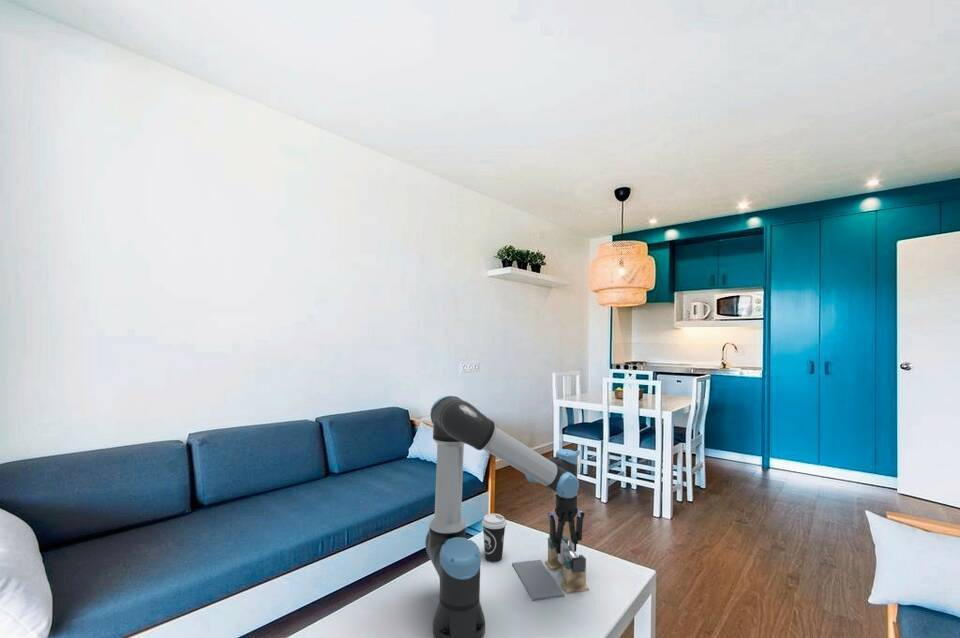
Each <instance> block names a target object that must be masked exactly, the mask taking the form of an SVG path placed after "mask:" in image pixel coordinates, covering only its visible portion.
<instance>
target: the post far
mask: <svg viewBox="0 0 960 638" xmlns="http://www.w3.org/2000/svg"><path fill="white" fill-rule="evenodd" d="M562 539H563V540H564V541H565V542H566V543H567V545H568V546H569V539H568V538H567V537H566V536H565V535H562ZM544 564H545V565H546V566H547V568H548V569H549V570H550V571H556V570H564V556H563V564H560V562H559V561H558V553H557V552H556V546H555V545H554V543H553V542H552V541H551V539H550V537H547V560H544Z"/></svg>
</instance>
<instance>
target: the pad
mask: <svg viewBox="0 0 960 638" xmlns="http://www.w3.org/2000/svg"><path fill="white" fill-rule="evenodd" d="M511 565H512V567H513V568H514V571H515V572H516V574H517V575H518V578H519V579H520V581H521V583H522V584H523V586H524V588H525V590H526V592H527V594H529V597H530V598H531V600H532V601H533V602H534V601H542V600H550V599H555V598H563V597H566V596H565V593H564V592H563V590H562V588H561V586H560V585H558V583H557V582H556V580H555V579H554V578H553V576H552V574H551V573H550V571H548V569H547V567H546V566H545V565H544V564H543V562H542V561H541V559H535V560H526V561H517V562H516V561H515V562H512V563H511Z"/></svg>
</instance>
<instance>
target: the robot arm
mask: <svg viewBox="0 0 960 638" xmlns="http://www.w3.org/2000/svg"><path fill="white" fill-rule="evenodd" d="M429 414H430V420H431V423H432V425H433V427H432V428H433V429H432V440H433V441H434V442H435V443H436V444H437V447H436V450H437V451H436V467H435V468H436V469H435V472H436V474H435V493H434V494H435V497H434V498H435V499H434V518H433V519H432V520H431V521H429V530H428V531H427V533H426V535H425V542H424V544H425V551H426V554H427V556H428V558H429V560H430V561H431V564H432V565H433V567H434V569H435V571H436V573H437V576H438V578H439V602H438V605H437V608H436V611H435V614H434V617H433V621H432V634H433V636H434V638H483V637H484V635H485V633H486V618H485V615H484V611H483V608H482V605H481V604H482V603H481V600H480V597H481V595H480V589H481V564H482V563H481V562H482V560H481V559H482V558H481V552H480V548H479V546H478V545H477V543H476V542H474V541H473V540H471V539H468V538H466V522H465V521H464V520H463V519H462V506H463V505H462V503H463V501H462V500H463V474H464V445H465V444H466V445H468V446H470V447H472V448H474V449H475V450H476V451H477V450H478V451H482V450H484V451H486V452H487V453H489V454H491V455H493V457H496V458H497V459H499V460H501V461H502V462H504V463H506V464H507V465H509V466H511V467H513V468H514V469H516V470H518V471H519V472H521V473H523V474H524V476H525V478H526V481H527V482H529V483H536V484H537V483H540V484H542V485H543V486H545V487H546V488H548V489H550V490H551V491H553V492H554V493H556V494H555V509H554V511H553V512H548V513H547V517H548V519H549V532H550V539H551V541H552V542H553V543H554V544H555V543H556V552H557V553H558V561H559V562H560V564H563V544H562V543H561V541H562V536H564V535H563V534H564V529H565V528H564V527H565V525H566V523H568V529H569V533H570V534H569V536H570V539H568V546H569V547H570V548H571V549H572V550H573V551H574V552H575V553H576V552H577V545H578V544H579V542H581V541H582V540H583V539H582V538H583V521H584V517H585V516H586V515H585V513H584V511H582V510H581V509H578V508H577V507H578V496H577V495H578V491H579V490H580V483H579V482H580V481H579V479H578V465H579V464H578V453H577V452H576V451H574V450H572V449H566V448H560V449H558V450H556V452H555V456H553V457H546V456H543V455H542V454H540V453H538V452H537V451H535V450H534V449H532V448H530V447H529V446H528V445H525V444H524V443H523V442H520V441H519V440H518V439H516V438H514V437H513V436H511V435H509V434H508V433H507V432H505V431H503V430H502V429H501V428H498V427H497V426H496V425H497V424H496V422H495V421H493V420H492V419H490V418H489V417H487V415H485V414H483V413H482V412H481V411H480V410H479V409H477V408H476V407H475V406H474V405H473V404H471V403H470V402H468V401H465V400H463V399H461V398H460V397H459V396H456V395H443V396H442V397H439V398H438V399H437V400H436V401H435V402H434V403H433V404H432V407H431V408H430V413H429ZM575 517H576V521H575ZM556 518H557V525H556ZM575 524H576V525H575ZM556 526H557V527H556ZM556 531H557V532H556Z"/></svg>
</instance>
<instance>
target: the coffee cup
mask: <svg viewBox="0 0 960 638" xmlns="http://www.w3.org/2000/svg"><path fill="white" fill-rule="evenodd" d="M481 525H482V528H483V531H482V532H483V544H484V545H483V546H484V547H483V548H484V559H485V561H487V562H491V563H498V562H500V561H502V559H503V551H504V541H505V531H506V526H507V520H506V518H505V517H504V515H501V514H499V513H488V514H485V515H484V516H483V519H482V520H481Z"/></svg>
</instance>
